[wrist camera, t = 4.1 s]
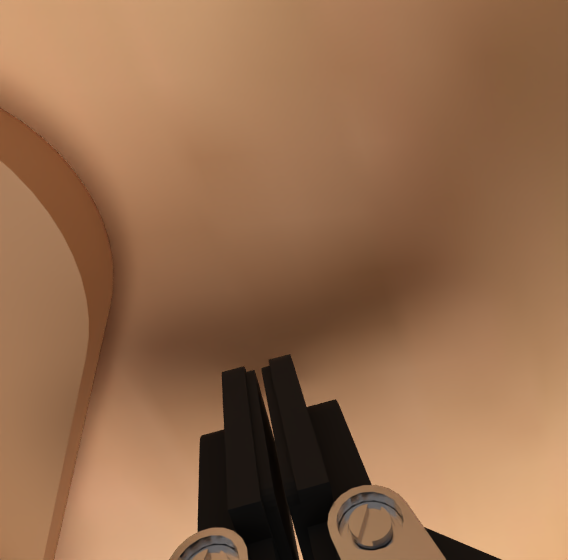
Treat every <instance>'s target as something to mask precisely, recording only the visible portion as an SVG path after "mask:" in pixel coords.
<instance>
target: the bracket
mask: <svg viewBox="0 0 568 560" xmlns="http://www.w3.org/2000/svg"><path fill="white" fill-rule="evenodd" d="M113 273H114V272H113V261H112V253H111V249H110V244H109V239H108V236H107V233H106V230H105V227H104V224H103V221H102V219H101V216H100V214H99V212H98V210H97V208H96V205H95V203H94V201H93V200H92V198H91V196H90V195H89V193H88V191H87V190H86V188H85V186H84V185H83V183H82V182H81V181H80V179H79V178H78V176H77V175H76V174H75V172H74V171H73V170H72V168H71V167H70V166H69V165H68V164H67V163H66V161H65V160H64V159H63V158H62V157H61V156H60V155H59V154H58V152H57V151H55V150H54V149H53V148H52V147H51V146H50V145H49V144H48V143H47V142H46V141H45V140H44V139H43V138H42V137H41V136H39V135H38V134H37V133H35V132H34V131H33V130H32V129H30V128H29V127H28V126H26V125H25V124H24V123H23V122H21V121H20V120H18V119H16V118H15V117H13V116H12V115H10V114H9V113H7V112H6V111H4V110H2V109H1V108H0V560H54V557H55V552H56V548H57V543H58V539H59V534H60V530H61V525H62V521H63V516H64V512H65V507H66V503H67V498H68V494H69V489H70V485H71V480H72V476H73V471H74V467H75V462H76V458H77V453H78V449H79V444H80V440H81V435H82V431H83V426H84V422H85V417H86V413H87V408H88V404H89V399H90V395H91V390H92V386H93V381H94V377H95V372H96V368H97V363H98V359H99V354H100V350H101V345H102V341H103V336H104V332H105V327H106V323H107V318H108V314H109V309H110V305H111V299H112V292H113Z"/></svg>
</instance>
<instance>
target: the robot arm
mask: <svg viewBox="0 0 568 560" xmlns="http://www.w3.org/2000/svg"><path fill="white" fill-rule="evenodd" d="M269 365H270V366H267V367H263V368H261V369H262V375H263V380H264V386H265V391H266V396H267V402H268V407H269V412H270V418H271V423H272V428H273V433H272V430H271V426H270V423H269V419H268V416H267V412H266V409H265V405H264V401H263V398H262V394H261V391H260V387H259V384H258V380H257V377H256V373H255V370H252V371H248V372H246V369H245V367H244V366H243V367H240V368H236V369H232V370H228V371H224V372H222V391H223V413H224V430H220V431H217V432H213V433H209V434H206V435H202V436H201V438H200V454H199V494H198V533H196V534H194V535H192V536H191V537H189V538H187V539H186V540H185V541H184V542H183V543H182V544H181V545H180V546H179V547H178V548H177V549H176V550H175V552H174V553H173V555H172V556H171V558H170V559H169V560H299V556H298V551H297V545H296V540H295V535H294V530H293V524H294V528H295V531H296V535H297V538H298V542H299V545H300V549H301V552H302V556H303V559H304V560H501V559H499V558H496V557H494V556H491V555H489V554H487V553H484V552H482V551H480V550H477V549H475V548H472V547H470V546H468V545H465V544H463V543H461V542H458V541H456V540H453V539H451V538H449V537H446V536H444V535H442V534H439V533H437V532H434V531H432V530H430V529H427V528H425V527H423V525H422V524H421V522H420V521H419V519H418V518H417V517H416V515H415V514H414V512H413V511H412V509H411V508H410V506H409V505H408V503H407V502H406V501H405V500H404V499H403V498H402V497H401V496H400V495H399V494H398V493H396V492H394V491H392V490H391V489H389V488H386V487H382V486H378V485H371V482H370V480H369V477H368V475H367V472H366V470H365V468H364V465H363V463H362V460H361V458H360V455H359V453H358V450H357V448H356V446H355V443H354V441H353V438H352V436H351V433H350V431H349V428H348V426H347V424H346V421H345V419H344V416H343V414H342V411H341V409H340V406H339V404H338V402H337V400H336V399H335V400H331V401H328V402H324V403H320V404H317V405H313V406H309V407H306V404H305V401H304V397H303V394H302V391H301V388H300V384H299V381H298V378H297V374H296V371H295V368H294V365H293V361H292V358H291V355H290V354H289V355H285V356H281V357H278V358H274V359H270V360H269ZM273 434H274V437H273ZM274 439H275V441H274ZM291 517H292V519H291ZM292 521H293V524H292Z"/></svg>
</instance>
